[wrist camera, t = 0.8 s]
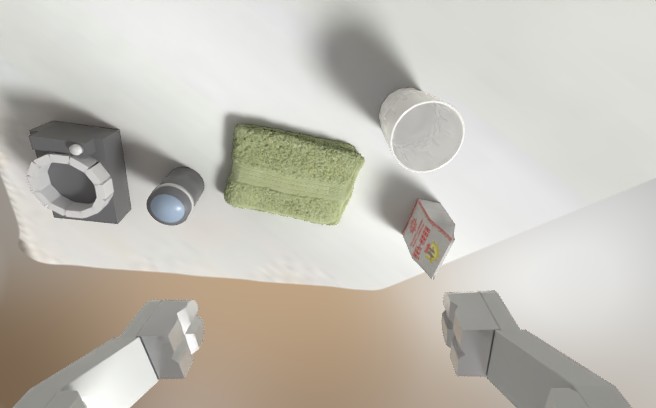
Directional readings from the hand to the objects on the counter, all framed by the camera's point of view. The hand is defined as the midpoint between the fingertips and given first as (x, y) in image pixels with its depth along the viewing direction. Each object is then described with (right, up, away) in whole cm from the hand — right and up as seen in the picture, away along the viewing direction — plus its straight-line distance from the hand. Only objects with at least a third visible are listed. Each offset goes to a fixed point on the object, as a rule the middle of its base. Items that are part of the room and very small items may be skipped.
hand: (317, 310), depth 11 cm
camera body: (-32, +8, +35) cm, 48 cm away
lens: (-20, +6, +36) cm, 42 cm away
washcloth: (-5, +8, +37) cm, 38 cm away
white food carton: (+15, +1, +41) cm, 44 cm away
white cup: (+10, +15, +33) cm, 38 cm away
